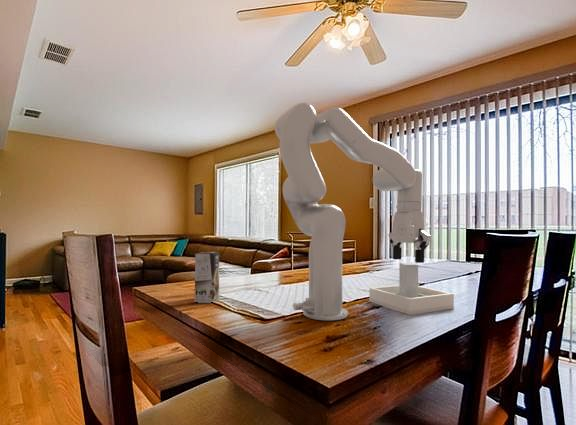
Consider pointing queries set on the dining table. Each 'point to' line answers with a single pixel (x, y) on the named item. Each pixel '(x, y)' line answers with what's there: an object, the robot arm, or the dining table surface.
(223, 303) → the dining table surface
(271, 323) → the dining table surface
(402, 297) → the tray
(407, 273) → the skincare box
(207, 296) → the coffee box
